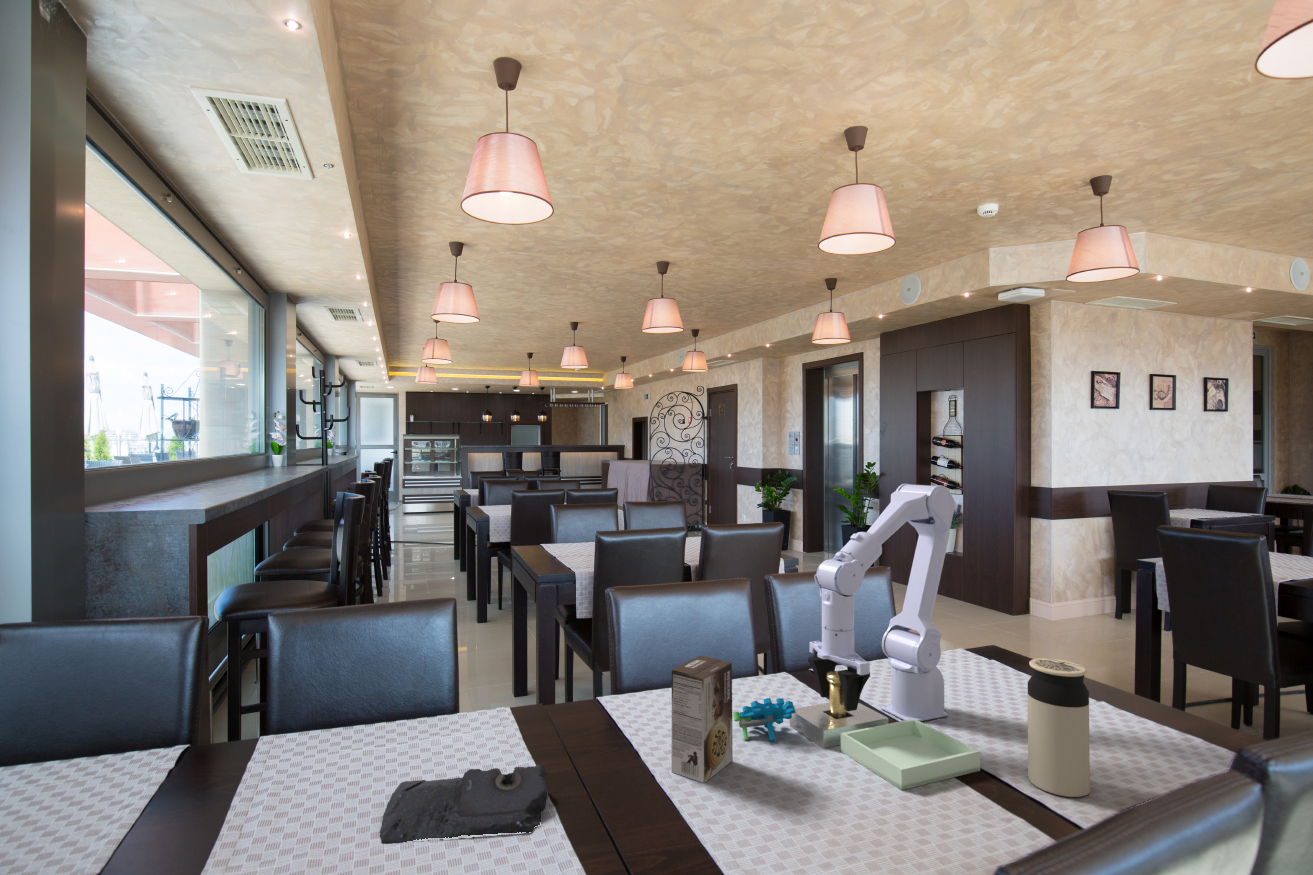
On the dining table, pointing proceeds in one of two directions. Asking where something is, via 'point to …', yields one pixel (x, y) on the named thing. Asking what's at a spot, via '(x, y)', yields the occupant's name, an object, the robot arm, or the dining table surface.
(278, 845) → the dining table surface
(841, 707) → the pin
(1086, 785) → the travel mug
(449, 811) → the dark slate chunk
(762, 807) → the dining table surface
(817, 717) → the pin bracket
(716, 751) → the coffee box
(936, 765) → the parts tray
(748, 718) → the gear
